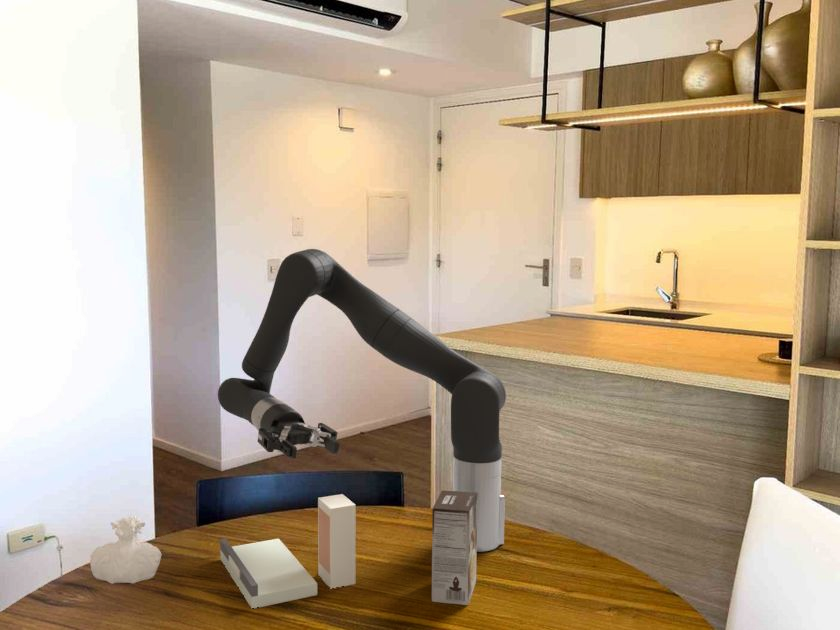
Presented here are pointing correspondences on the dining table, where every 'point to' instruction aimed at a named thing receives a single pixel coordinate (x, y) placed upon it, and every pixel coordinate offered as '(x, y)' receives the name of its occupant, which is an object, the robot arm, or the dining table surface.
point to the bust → (125, 555)
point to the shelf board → (267, 572)
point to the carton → (336, 540)
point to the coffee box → (454, 547)
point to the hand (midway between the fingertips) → (316, 451)
